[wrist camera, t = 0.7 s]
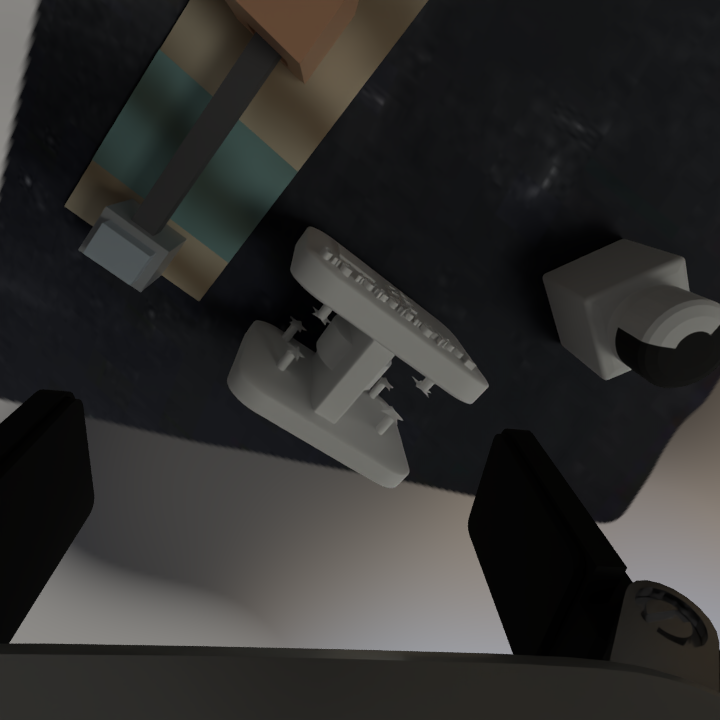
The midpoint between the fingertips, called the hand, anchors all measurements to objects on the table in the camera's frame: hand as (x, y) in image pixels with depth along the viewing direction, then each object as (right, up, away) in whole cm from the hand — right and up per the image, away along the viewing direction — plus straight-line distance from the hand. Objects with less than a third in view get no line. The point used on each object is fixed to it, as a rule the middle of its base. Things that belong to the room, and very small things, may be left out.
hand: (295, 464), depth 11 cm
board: (-4, +22, +20) cm, 30 cm away
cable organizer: (+1, +5, +28) cm, 29 cm away
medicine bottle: (+21, +8, +29) cm, 37 cm away
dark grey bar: (-4, +21, +17) cm, 28 cm away
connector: (-14, +12, +24) cm, 30 cm away
